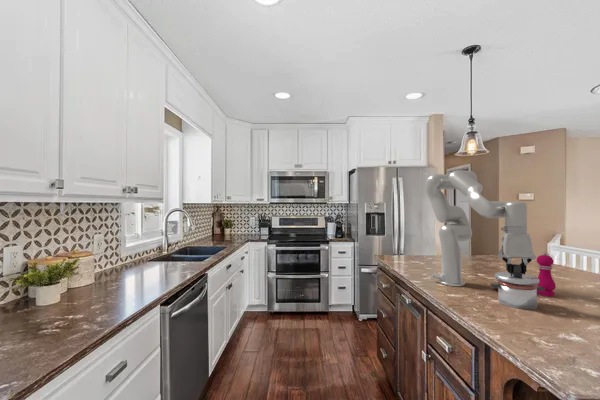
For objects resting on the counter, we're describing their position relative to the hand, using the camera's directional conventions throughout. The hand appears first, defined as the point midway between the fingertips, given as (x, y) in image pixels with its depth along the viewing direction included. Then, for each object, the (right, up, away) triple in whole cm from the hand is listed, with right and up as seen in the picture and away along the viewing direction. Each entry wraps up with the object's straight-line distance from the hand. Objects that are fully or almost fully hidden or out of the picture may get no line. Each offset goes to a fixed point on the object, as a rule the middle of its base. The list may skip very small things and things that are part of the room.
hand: (516, 272), depth 120 cm
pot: (0, -13, 0) cm, 13 cm away
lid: (0, -3, 0) cm, 3 cm away
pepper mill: (+23, -13, +12) cm, 29 cm away
